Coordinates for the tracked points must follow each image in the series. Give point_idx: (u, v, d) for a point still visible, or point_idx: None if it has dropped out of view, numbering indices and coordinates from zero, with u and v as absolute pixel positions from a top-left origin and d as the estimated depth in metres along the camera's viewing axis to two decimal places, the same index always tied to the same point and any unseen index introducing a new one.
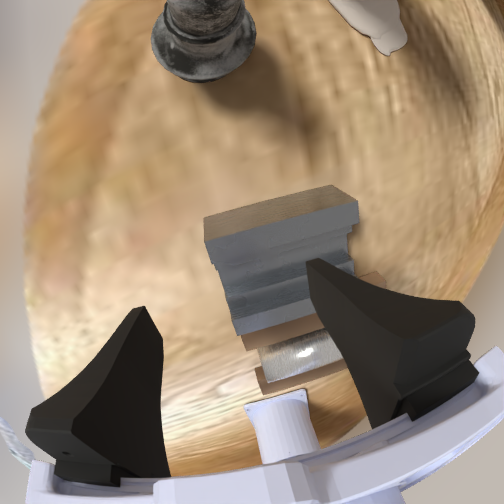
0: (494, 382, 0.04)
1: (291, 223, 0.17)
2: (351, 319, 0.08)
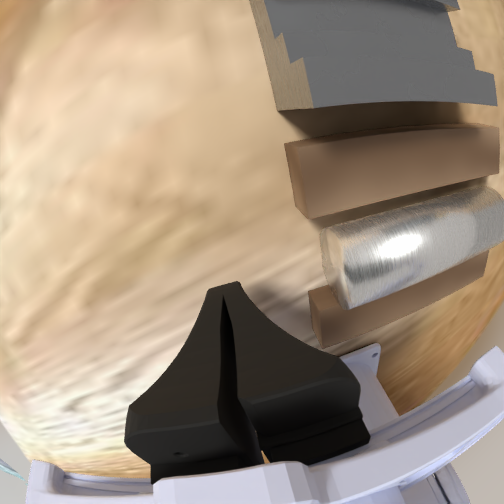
0: (494, 382, 0.04)
1: None
2: None
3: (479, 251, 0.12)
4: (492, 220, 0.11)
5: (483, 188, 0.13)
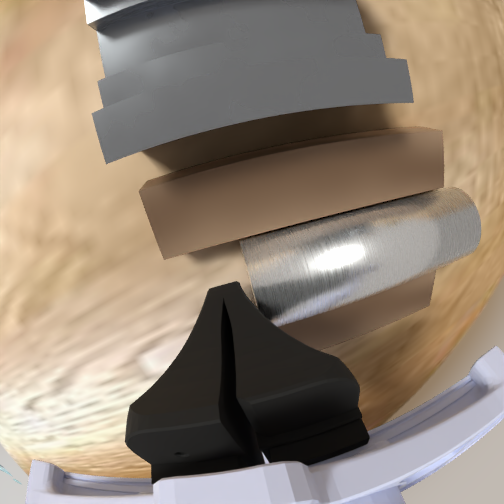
0: (494, 382, 0.04)
1: None
2: None
3: (442, 253, 0.11)
4: (452, 214, 0.11)
5: (440, 189, 0.13)
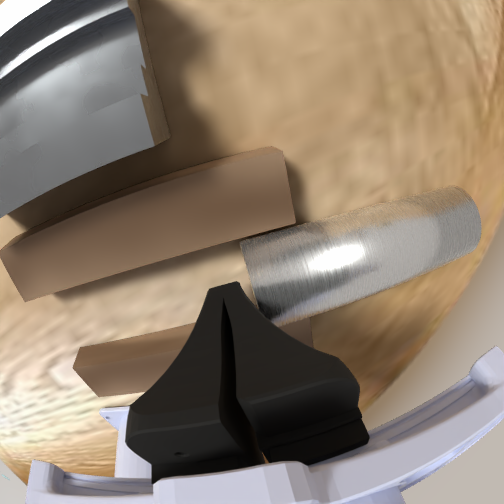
0: (494, 382, 0.04)
1: None
2: None
3: (443, 252, 0.11)
4: (451, 212, 0.11)
5: None
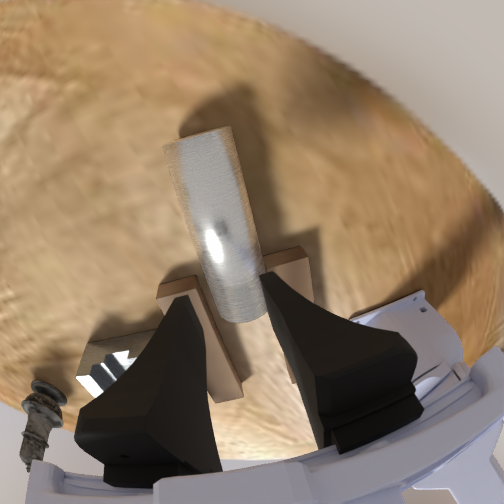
0: (494, 382, 0.04)
1: None
2: (289, 340, 0.08)
3: (224, 191, 0.15)
4: (188, 180, 0.14)
5: (166, 157, 0.15)
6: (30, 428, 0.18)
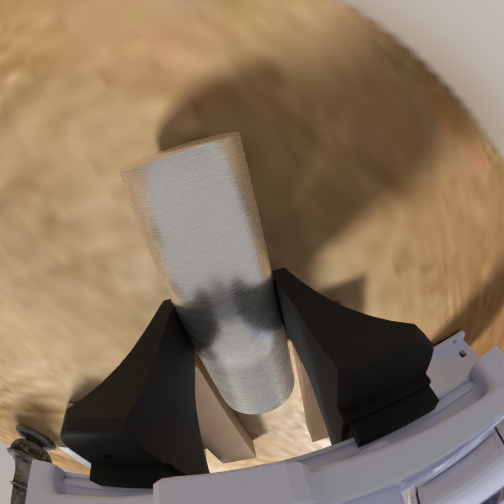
0: (494, 382, 0.04)
1: None
2: (304, 335, 0.08)
3: (216, 260, 0.08)
4: (153, 236, 0.08)
5: None
6: (18, 478, 0.12)
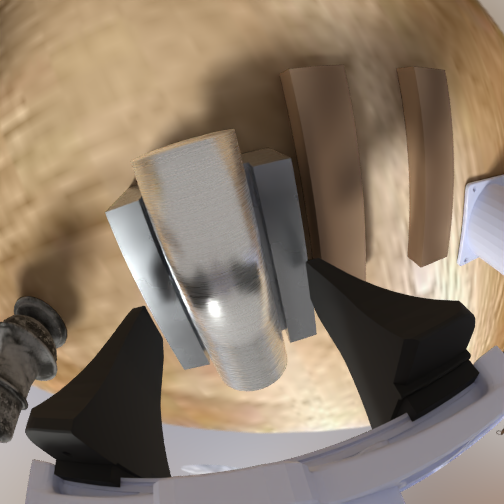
0: (494, 382, 0.04)
1: (151, 299, 0.13)
2: (351, 319, 0.08)
3: (216, 237, 0.09)
4: (161, 217, 0.09)
5: None
6: None
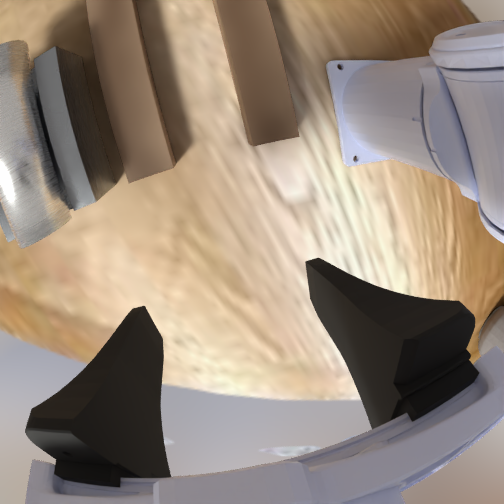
0: (494, 382, 0.04)
1: None
2: (351, 319, 0.08)
3: None
4: None
5: None
6: None
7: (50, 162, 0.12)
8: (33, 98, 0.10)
